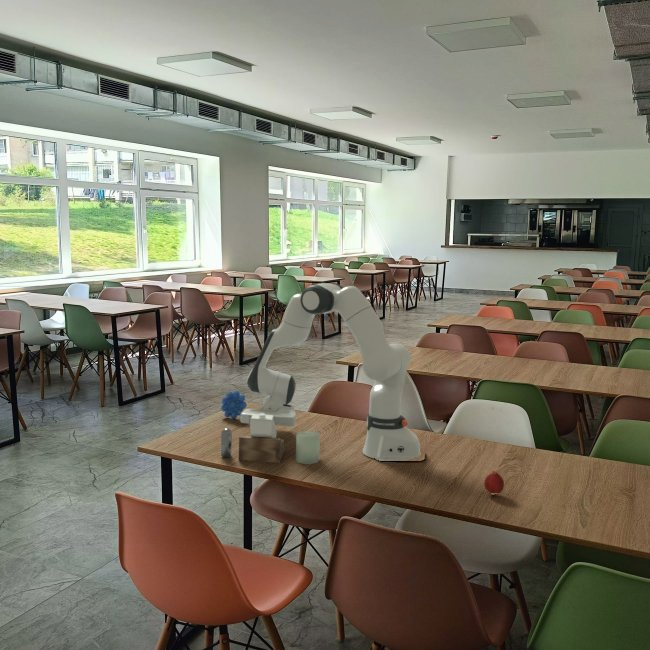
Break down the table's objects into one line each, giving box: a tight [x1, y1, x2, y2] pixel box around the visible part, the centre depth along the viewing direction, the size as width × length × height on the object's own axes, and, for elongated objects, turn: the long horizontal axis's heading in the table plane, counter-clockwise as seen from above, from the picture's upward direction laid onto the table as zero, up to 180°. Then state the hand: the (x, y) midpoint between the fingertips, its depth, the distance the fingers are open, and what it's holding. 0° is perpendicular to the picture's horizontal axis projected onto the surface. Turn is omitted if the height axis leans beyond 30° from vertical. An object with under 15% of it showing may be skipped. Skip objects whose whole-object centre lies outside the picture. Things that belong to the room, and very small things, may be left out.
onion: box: [483, 470, 505, 494], centre depth 196 cm, size 6×6×8 cm
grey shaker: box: [220, 427, 233, 459], centre depth 221 cm, size 4×4×10 cm
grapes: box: [220, 390, 248, 420], centre depth 264 cm, size 12×7×12 cm, turn 69°
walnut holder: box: [238, 435, 285, 463], centre depth 221 cm, size 14×9×8 cm, turn 86°
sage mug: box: [295, 430, 321, 465], centre depth 221 cm, size 8×11×9 cm
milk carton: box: [249, 413, 278, 438], centre depth 222 cm, size 7×7×19 cm
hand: (265, 424), depth 228 cm, fingers closed, pressing on milk carton
